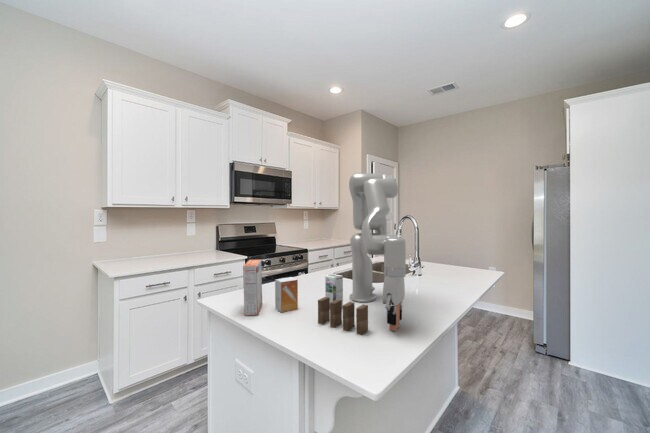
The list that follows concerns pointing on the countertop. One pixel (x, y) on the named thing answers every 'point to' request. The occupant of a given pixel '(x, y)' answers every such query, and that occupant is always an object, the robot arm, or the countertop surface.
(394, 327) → the domino
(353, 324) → the domino
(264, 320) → the countertop surface
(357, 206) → the robot arm
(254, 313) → the cracker box
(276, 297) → the small box
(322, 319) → the domino
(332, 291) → the syrup box
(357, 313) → the domino
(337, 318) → the domino
